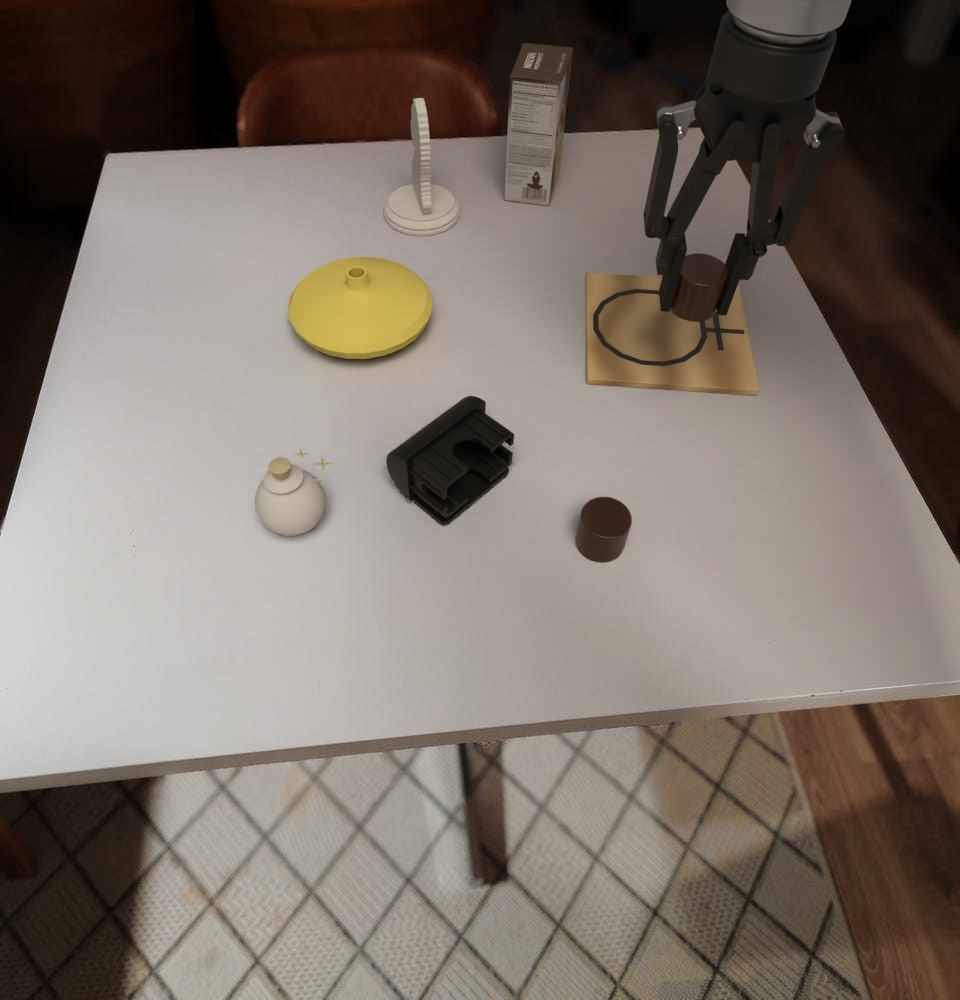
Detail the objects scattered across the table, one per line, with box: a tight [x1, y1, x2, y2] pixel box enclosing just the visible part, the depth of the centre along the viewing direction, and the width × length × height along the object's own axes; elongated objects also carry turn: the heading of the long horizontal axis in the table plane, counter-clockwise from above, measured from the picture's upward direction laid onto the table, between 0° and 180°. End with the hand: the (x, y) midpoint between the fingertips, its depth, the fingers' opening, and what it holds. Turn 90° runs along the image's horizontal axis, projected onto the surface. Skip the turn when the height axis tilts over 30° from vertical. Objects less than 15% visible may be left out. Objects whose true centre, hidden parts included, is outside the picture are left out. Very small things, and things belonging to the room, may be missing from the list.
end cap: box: [385, 395, 515, 526], centre depth 71 cm, size 10×7×7 cm
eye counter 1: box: [575, 496, 633, 564], centre depth 68 cm, size 4×4×4 cm
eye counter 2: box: [670, 252, 729, 322], centre depth 68 cm, size 4×4×4 cm
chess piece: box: [383, 97, 461, 237], centre depth 93 cm, size 10×10×15 cm
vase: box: [286, 256, 433, 360], centre depth 83 cm, size 16×16×7 cm
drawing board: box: [584, 271, 761, 396], centre depth 86 cm, size 18×18×1 cm
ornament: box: [254, 448, 333, 537], centre depth 66 cm, size 6×7×10 cm
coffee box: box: [503, 42, 574, 207], centre depth 97 cm, size 9×6×16 cm
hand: (692, 302), depth 69 cm, fingers closed on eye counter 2, 4 cm apart
